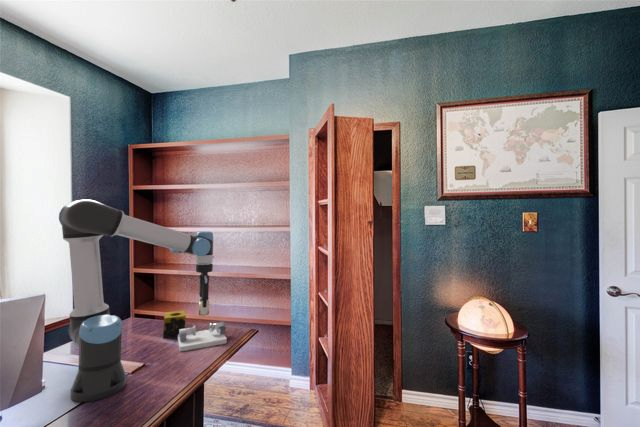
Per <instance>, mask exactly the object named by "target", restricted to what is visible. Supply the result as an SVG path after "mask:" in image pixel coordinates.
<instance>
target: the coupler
mask: <svg viewBox="0 0 640 427" xmlns="http://www.w3.org/2000/svg"><path fill="white" fill-rule="evenodd" d="M209 314H210V300H208V306H207V314H201V301H200V300H199V301H198V315H199V316H203V317H204V316H208V315H209Z"/></svg>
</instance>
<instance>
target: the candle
mask: <svg viewBox="0 0 640 427" xmlns="http://www.w3.org/2000/svg"><path fill="white" fill-rule="evenodd" d="M163 317H164V319H163V320H164V321H163V332H162V335H163V337H162V338H163V339H169V338H176V337H177V338H178V334H179V329H185V328H186V318H187V317H186V310H175V311H166V312H164V316H163Z"/></svg>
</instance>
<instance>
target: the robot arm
mask: <svg viewBox="0 0 640 427" xmlns="http://www.w3.org/2000/svg"><path fill="white" fill-rule="evenodd" d="M58 220H59V223H60V225H61V230H62V231H61V232H62V239H63V240H64V241H65V242H68V246H69V247H68V248H69V259H70V269H71V281H72V282H71V283H72V293H73V305H74V306H73V307H74V308H73V310H72V311H71V312H69V326H68V336H69V338H70V340H71V341H72V342H73V344H75V346H76V347H77V349H78V369H77V370H78V371H77V373H76V375H75V379H74V381H73V383H72V386H71V388H70V399H71V401H74V402H76V403H77V402H78V403H87V402H88V403H89V402H93V401H95V402H96V401H98V400H101V399H105V398H108V397H110V396H113V395H114V394H116V393H118V392H120V391H121V390H122V389H123V388H124V387H125V386H126V384H127V374H126V372H125V370H124V366H123V364H122V360H121V358H122V339H123V338H122V335H123V334H122V332H123V321H122V319H121V318H120V317H119V316H118V315H114V314H113V315H111V314H110V306H109V304H107V303H105V302H104V292H103V291H104V289H103V278H102V275H103V274H102V266H101V264H102V263H101V254H100V253H101V252H100V243H99V242H100V239H102V237H104V236H108V237H111V238H112V237H113V236H120V237H123V238H128V239H132V240H135V241H139V242H143V243H146V244H151V245H155V246H159V247H163V248H166V249H169V250H170V253H172V254H188V255H193V256H195V263H196V264H195V272H196V273H198V274H199V293H198V294H199V301H201V314H207V306H208V301H209V299H210V298H209V293H210V292H209V289H210V288H209V287H210V286H209V284H210V275H209V274H208V273H210V272H213V270H214V268H213V267H214V264H213V263H214V262H213V261H214V260H213V259H215V256H214V241H215V240H214V233H213V232H212V231H197V233H196V234H195V235H192V234H188V233H186V232H182V231H178V230H176V229H172V228H169V227H166V226H163V225H159V224H156V223H153V222H149V221H146V220H143V219H139V218H136V217H133V216H130V215H126V214H125V213H124V211H123V210H121V209H117V208H114V207H112V206H109V205H106V204H104V203H102V202H99V201H97V200H93V199H79V200H72V201H70V202H68V203H66V204H65V205H63V207H62V208H61V209H60V212H59V214H58Z"/></svg>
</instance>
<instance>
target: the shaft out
mask: <svg viewBox="0 0 640 427" xmlns="http://www.w3.org/2000/svg"><path fill="white" fill-rule="evenodd" d="M208 330H209V331H210V333H211V332H213V330H216V332H218V333H219V334H220V335H221V334H224V335H225V334H226V324H225V321H221V322H215V323H212V322H210V323H208Z"/></svg>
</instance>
